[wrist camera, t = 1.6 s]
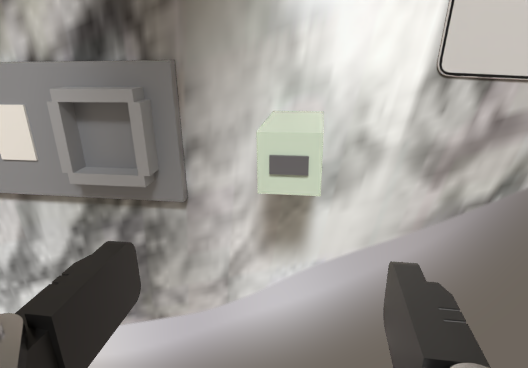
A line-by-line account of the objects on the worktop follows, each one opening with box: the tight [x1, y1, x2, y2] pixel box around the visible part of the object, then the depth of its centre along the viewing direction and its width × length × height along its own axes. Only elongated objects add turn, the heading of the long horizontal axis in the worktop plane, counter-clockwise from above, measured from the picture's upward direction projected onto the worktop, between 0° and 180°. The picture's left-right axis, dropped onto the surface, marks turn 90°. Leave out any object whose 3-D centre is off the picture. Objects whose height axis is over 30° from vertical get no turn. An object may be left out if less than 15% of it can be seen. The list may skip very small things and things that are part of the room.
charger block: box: [256, 111, 323, 196], centre depth 26 cm, size 4×4×8 cm
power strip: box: [0, 60, 188, 202], centre depth 32 cm, size 16×24×3 cm, turn 91°
